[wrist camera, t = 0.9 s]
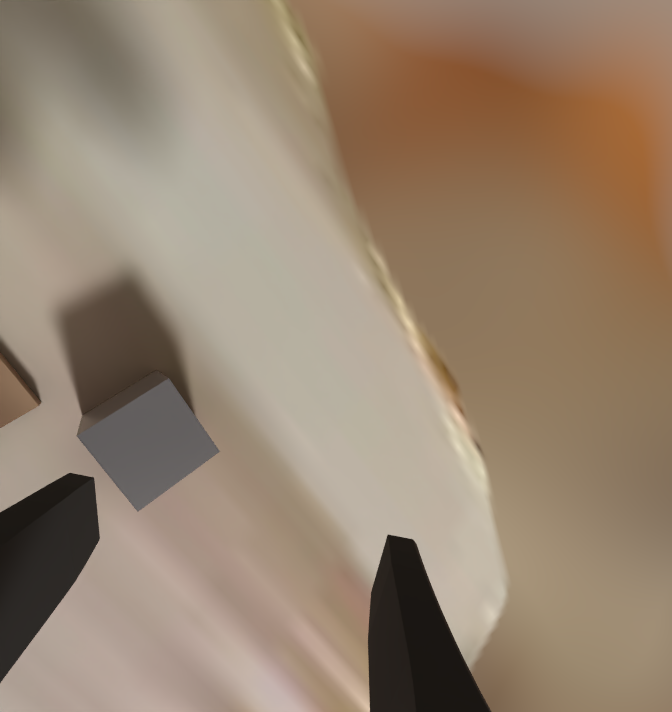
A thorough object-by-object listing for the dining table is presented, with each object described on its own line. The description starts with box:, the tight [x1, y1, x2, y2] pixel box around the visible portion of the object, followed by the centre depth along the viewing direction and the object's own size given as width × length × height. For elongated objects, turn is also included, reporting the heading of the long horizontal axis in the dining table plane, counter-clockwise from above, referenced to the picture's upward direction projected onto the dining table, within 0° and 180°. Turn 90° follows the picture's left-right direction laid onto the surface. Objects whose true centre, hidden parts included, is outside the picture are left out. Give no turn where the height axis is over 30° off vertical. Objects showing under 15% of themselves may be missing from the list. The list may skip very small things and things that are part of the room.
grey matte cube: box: [77, 370, 220, 511], centre depth 20 cm, size 4×4×5 cm
